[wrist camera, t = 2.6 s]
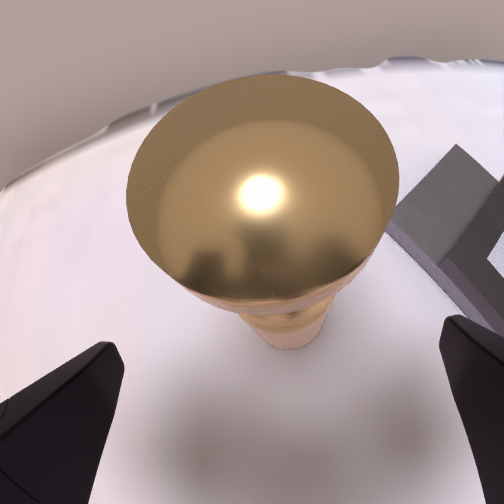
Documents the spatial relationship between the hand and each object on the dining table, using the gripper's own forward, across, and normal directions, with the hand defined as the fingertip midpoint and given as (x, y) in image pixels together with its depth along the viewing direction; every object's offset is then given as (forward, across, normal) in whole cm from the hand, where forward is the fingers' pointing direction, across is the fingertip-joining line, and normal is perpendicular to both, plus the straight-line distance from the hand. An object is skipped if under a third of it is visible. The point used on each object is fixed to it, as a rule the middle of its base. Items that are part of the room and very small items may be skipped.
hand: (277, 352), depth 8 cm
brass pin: (+9, 0, +5) cm, 11 cm away
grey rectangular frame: (+10, -16, +5) cm, 19 cm away
